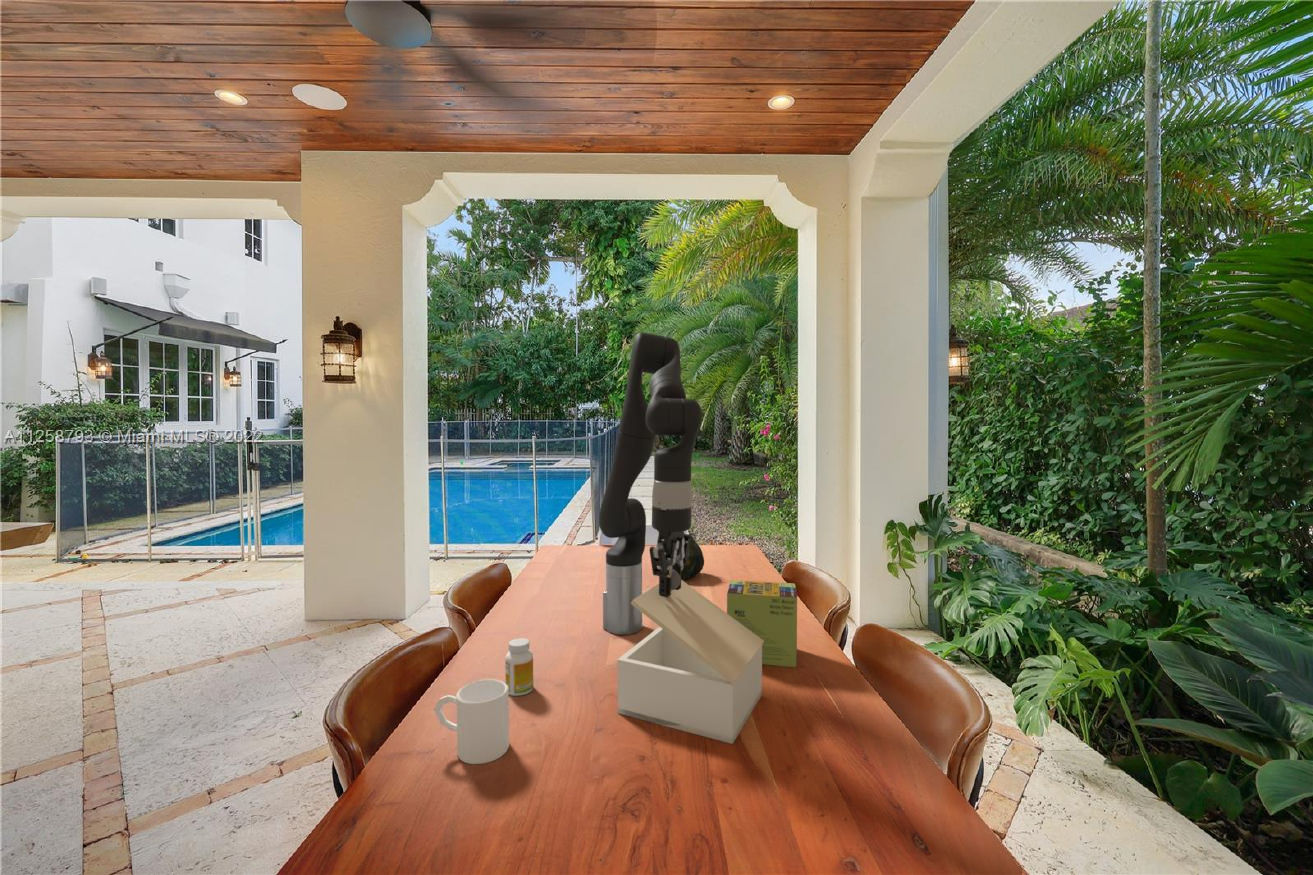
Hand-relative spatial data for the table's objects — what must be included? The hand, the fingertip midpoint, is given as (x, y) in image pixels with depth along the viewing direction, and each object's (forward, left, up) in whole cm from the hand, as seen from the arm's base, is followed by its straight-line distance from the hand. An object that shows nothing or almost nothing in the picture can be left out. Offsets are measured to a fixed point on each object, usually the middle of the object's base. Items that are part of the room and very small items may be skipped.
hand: (670, 592), depth 106 cm
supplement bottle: (-29, -10, -21) cm, 37 cm away
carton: (+4, 0, -21) cm, 21 cm away
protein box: (+10, +27, -21) cm, 36 cm away
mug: (-23, -29, -21) cm, 42 cm away
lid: (+6, 0, -5) cm, 8 cm away
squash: (-31, +76, -21) cm, 85 cm away
